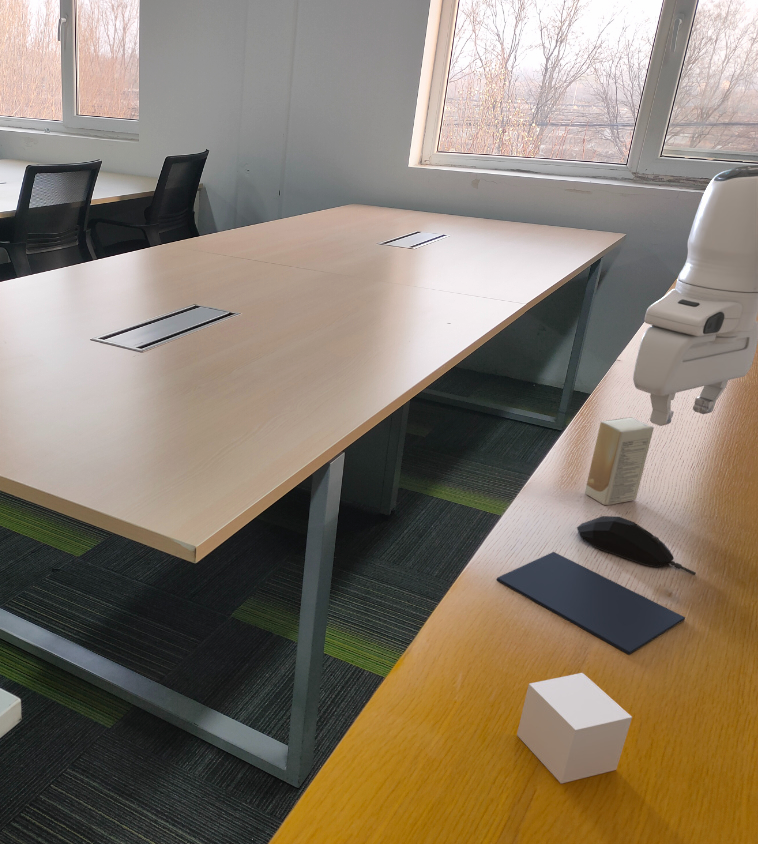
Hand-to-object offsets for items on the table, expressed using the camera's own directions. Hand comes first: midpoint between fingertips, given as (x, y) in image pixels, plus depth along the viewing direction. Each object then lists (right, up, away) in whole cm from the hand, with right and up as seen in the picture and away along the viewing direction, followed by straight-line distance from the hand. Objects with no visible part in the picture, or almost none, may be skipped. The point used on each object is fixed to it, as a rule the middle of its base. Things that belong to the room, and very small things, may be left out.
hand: (681, 417), depth 99 cm
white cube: (-27, -31, -26) cm, 48 cm away
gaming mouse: (-2, -18, +8) cm, 20 cm away
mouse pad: (-13, -22, -3) cm, 26 cm away
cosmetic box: (+3, -12, +23) cm, 26 cm away
